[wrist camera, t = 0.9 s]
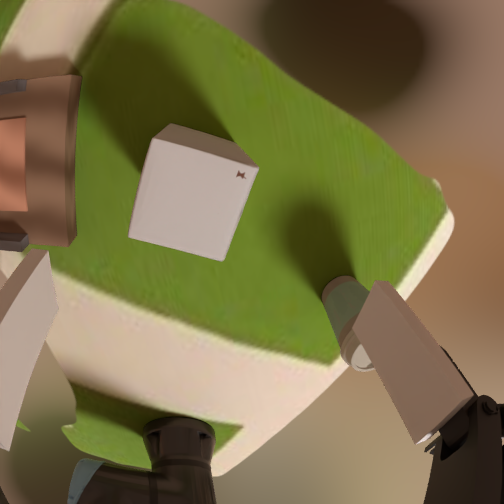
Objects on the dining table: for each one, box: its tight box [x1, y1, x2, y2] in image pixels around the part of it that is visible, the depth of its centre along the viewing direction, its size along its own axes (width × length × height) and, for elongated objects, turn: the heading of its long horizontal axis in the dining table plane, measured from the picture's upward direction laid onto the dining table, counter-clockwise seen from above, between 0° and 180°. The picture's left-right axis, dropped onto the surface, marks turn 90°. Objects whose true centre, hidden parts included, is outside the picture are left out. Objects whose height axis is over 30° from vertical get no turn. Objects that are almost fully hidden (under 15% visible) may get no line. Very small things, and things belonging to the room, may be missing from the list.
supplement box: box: [128, 123, 259, 261], centre depth 25 cm, size 7×7×13 cm
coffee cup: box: [322, 276, 375, 371], centre depth 37 cm, size 8×8×12 cm
